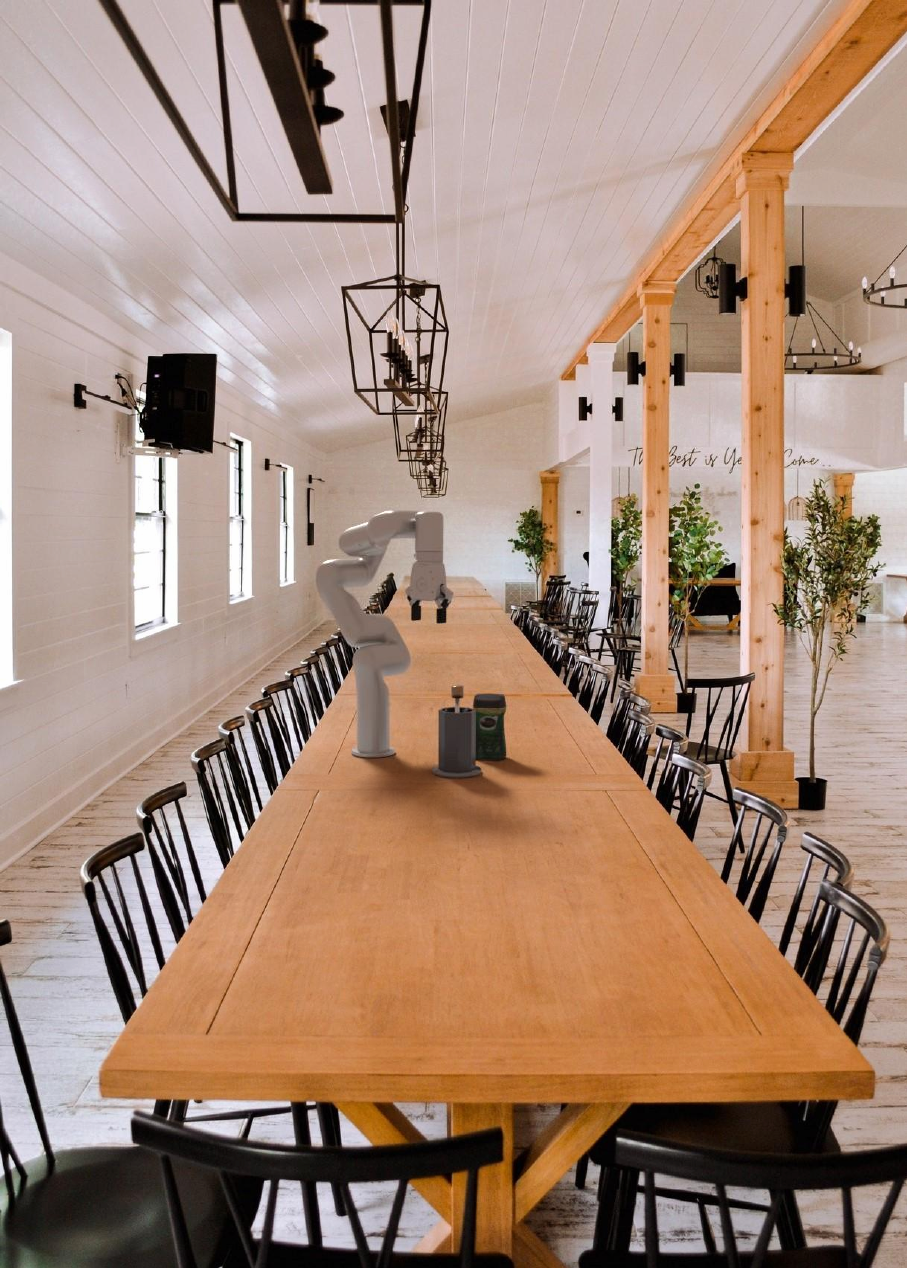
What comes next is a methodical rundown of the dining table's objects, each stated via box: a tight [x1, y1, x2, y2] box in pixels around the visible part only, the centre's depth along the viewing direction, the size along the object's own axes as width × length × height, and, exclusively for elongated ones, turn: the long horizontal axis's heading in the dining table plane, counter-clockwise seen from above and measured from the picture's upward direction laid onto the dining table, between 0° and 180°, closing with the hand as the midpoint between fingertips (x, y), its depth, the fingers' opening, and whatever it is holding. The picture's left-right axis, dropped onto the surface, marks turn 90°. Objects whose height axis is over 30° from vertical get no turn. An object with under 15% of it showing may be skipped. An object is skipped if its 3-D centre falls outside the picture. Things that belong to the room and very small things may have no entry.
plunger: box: [450, 684, 464, 713], centre depth 277 cm, size 7×7×22 cm
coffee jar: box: [472, 692, 507, 761], centre depth 295 cm, size 10×8×19 cm
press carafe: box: [432, 706, 482, 779], centre depth 278 cm, size 14×13×17 cm
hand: (428, 621), depth 279 cm, fingers open, 9 cm apart
